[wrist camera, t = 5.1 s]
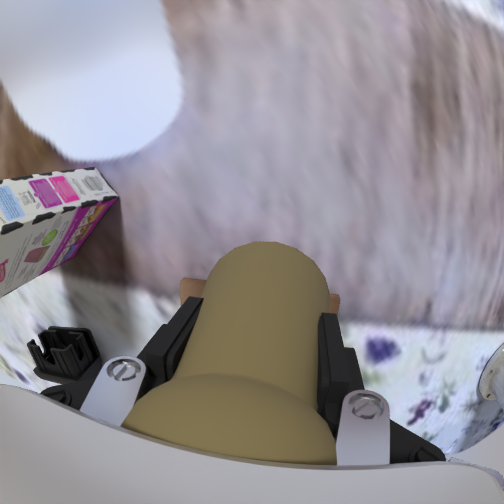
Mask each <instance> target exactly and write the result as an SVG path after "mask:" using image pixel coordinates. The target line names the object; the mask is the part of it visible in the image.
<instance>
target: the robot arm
mask: <svg viewBox="0 0 504 504" xmlns="http://www.w3.org/2000/svg"><path fill="white" fill-rule="evenodd" d="M203 299H204V298H199V297H193V296H189V297H188V298H187V299H186V301H185V302H184V303H183V305H182V306H181V307H180V308H179V310H178V311H177V312H176V314H175V315H174V316H173V317H172V319H171V320H170V321H169V323H168V324H163V325H162V326H161V327H160V328H159V330H158V331H157V332H156V333H155V335H154V336H153V337H152V338H151V340H150V341H149V342H148V343H147V345H146V346H145V347H144V349H143V350H142V351H141V352H140V354H139V355H138V356H137V358H136V357H132V356H119V357H115V358H112V359H110V360H109V361H107V362H106V363H105V364H104V366H103V367H102V369H101V371H100V373H99V375H98V376H97V377H96V378H92V379H87V380H82V381H78V382H73V383H68V384H63V385H57V386H53V387H49V388H47V389H45V390H43V391H42V392H41V393H40V394H39V393H37V392H34V391H31V390H28V389H24V388H21V387H17V386H12V385H5V384H0V504H504V479H503V476H502V475H501V474H500V473H499V472H497V471H496V470H493V469H490V468H485V467H482V466H479V465H475V464H472V463H469V462H465V461H462V460H459V459H456V458H453V457H451V459H450V460H447V459H446V458H445V455H444V453H443V452H442V451H441V449H439V448H438V447H437V446H435V445H433V444H432V443H430V442H428V441H426V440H424V439H423V438H421V437H419V436H418V435H416V434H414V433H412V432H411V431H409V430H407V429H406V428H404V427H402V426H401V425H399V424H397V423H396V422H394V421H392V420H391V419H390V410H389V405H388V402H387V401H386V399H385V398H383V397H382V396H381V395H380V394H378V393H376V392H373V391H369V390H365V389H364V385H363V381H362V376H361V372H360V368H359V364H358V360H357V356H356V352H355V349H354V348H346V347H344V345H343V340H342V336H341V331H340V327H339V322H338V318H337V314H335V313H324V312H322V313H321V314H322V316H320V317H319V322H318V380H317V404H318V410H317V413H318V414H319V415H320V416H321V417H322V418H323V419H324V420H325V421H326V422H327V424H328V426H329V428H330V431H331V433H332V435H333V437H334V440H335V442H336V454H337V465H306V464H292V463H280V462H271V461H262V460H254V459H247V458H241V457H235V456H229V455H223V454H218V453H213V452H208V451H203V450H199V449H194V448H190V447H186V446H182V445H178V444H174V443H170V442H167V441H163V440H160V439H156V438H153V437H149V436H146V435H143V434H140V433H137V432H134V431H131V430H128V429H125V428H122V427H120V425H121V424H122V422H123V421H124V420H125V418H126V417H127V415H128V414H129V412H130V411H131V409H132V408H133V406H134V405H135V403H136V402H137V401H138V400H139V399H140V398H142V397H143V396H144V395H146V394H147V393H148V392H149V391H151V390H152V389H153V388H156V387H158V386H160V385H162V384H164V383H166V382H168V381H170V380H171V379H172V377H173V376H174V373H175V371H176V368H177V366H178V364H179V361H180V359H181V356H182V354H183V352H184V349H185V347H186V344H187V342H188V340H189V337H190V335H191V332H192V330H193V328H194V325H195V323H196V321H197V318H198V315H199V312H200V309H201V306H202V303H203V302H202V301H203ZM479 389H480V393H481V394H482V396H483V398H484V399H486V400H489V401H494V400H497V401H498V403H499V404H500V406H501V407H502V409H503V411H504V344H503V345H502V346H501V347H500V348H499V349H498V350H497V351H496V352H495V354H494V355H493V356H492V358H491V359H490V361H489V362H488V364H487V365H486V367H485V369H484V371H483V374H482V376H481V379H480V383H479Z"/></svg>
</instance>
